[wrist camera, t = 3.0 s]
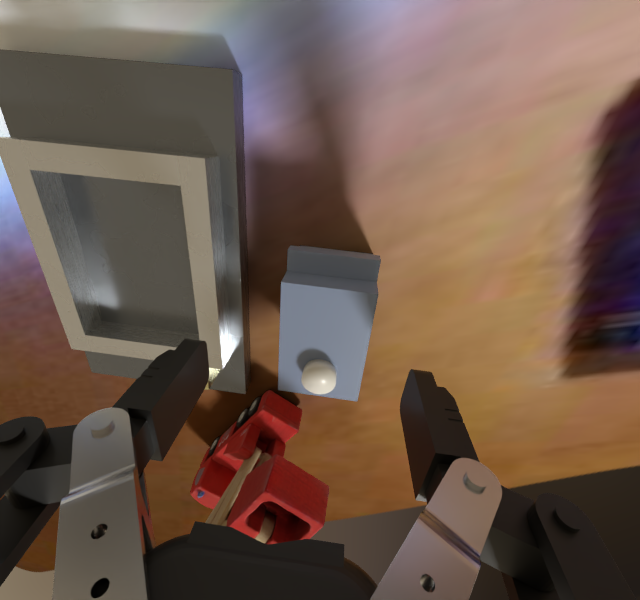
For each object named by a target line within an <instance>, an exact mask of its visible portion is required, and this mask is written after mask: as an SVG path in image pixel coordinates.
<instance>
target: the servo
mask: <svg viewBox="0 0 640 600" xmlns="http://www.w3.org/2000/svg"><path fill="white" fill-rule="evenodd" d="M380 262H381V259H380V256H377V255H373V254H370V253H362V252H353V251H344V250H336V249H327V248H319V247H310V246H301V245H300V246H292V245H290V247H289V248H288V255H287V272H286V274H285V276H284V278H283V279H282V281H281V303H280V338H279V373H278V390H281V391H288V392H295V393H302V394H309V395H316V396H323V397H330V398H337V399H344V400H351V401H357V400H358V395H359V390H360V385H361V380H362V375H363V370H364V365H365V360H366V355H367V349H368V344H369V339H370V334H371V329H372V324H373V319H374V314H375V309H376V304H377V298H378V288H377V278H378V272H379V267H380Z"/></svg>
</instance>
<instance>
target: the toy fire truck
mask: <svg viewBox="0 0 640 600" xmlns="http://www.w3.org/2000/svg"><path fill="white" fill-rule="evenodd" d="M301 416H302V410H301V409H300V408H298V407H297V406H295V405H294V404H292V403H290V402H289V401H287V400H285V399H284V398H282V397H281V396H279V395H277V394H276V393H274V392H273V391H271V390H268V391H266V392H265V393H264V394H263V396H262V398H260V397H257V398H256V399H255V400H254V401H253V403H252V404H251V406H250V409H245V410H244V411H243V412H242V413H241V415H240V416H239V418H238V420H237V421H236V422H235V423H234V424H233V425H232V426H231V427H230V428H229V429H228V430H226V432H225V433H224V434H223V435H222V436H221V437H217V438H216V439H215V441H214V442H213V443H212V445H211V447H210V448H209V449H208V450H207V452H206V454H205V456H204V458H203V461H202V463H201V465H200V469H199V470H198V472H197V474H196V476H195V479H194V481H193V484H192V488H191V491H190V494H191V495H192V497H193V498H194V499H195V500H196V501H198V502H199V503H201V504H202V505H204V506H206V507H208V508H211V509H214V510H213V511H212V513H211V514H210V516H209V518H208V519H207V521H206V522H205V523H208V524H215V525H221V526H228V527H232V528H234V529H236V530H238V531H240V532H242V533H244V534H246V535H248V536H250V537H252V538H254V539H256V540H258V541H260V542H262V543H264V544H275V543H282V542H289V541H295V540H302V539H310V538H311V537H312V536H313V535H314V534H315V533H316V532H318V531H319V530H320V529H321V528H322V527H323V525H324V522H325V516H326V507H327V501H328V495H329V486H328V485H326V484H325V483H323V482H322V481H320V480H318V479H317V478H315V477H313V476H312V475H310V474H308V473H307V472H305V471H303V470H302V469H301V468H299V467H298V466H296V465H294V464H293V463H291V462H289V461H287V460H286V459H285V458H283V457H284V451H285V442H287V441H288V440H289V439H290V438H291V437H292V436H294V435H295V434H296V433H298V431H299V425H300V421H301Z"/></svg>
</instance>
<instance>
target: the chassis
mask: <svg viewBox="0 0 640 600" xmlns="http://www.w3.org/2000/svg"><path fill="white" fill-rule="evenodd" d="M0 107H1V110H2V113H3V116H4V119H5V122H6V125H7V128H8V130H9V133H10V136H11V137H0V156H1V159H2V162H3V164H4V167H5V170H6V173H7V175H8V178H9V181H10V183H11V186H12V189H13V192H14V194H15V197H16V200H17V202H18V205H19V208H20V211H21V213H22V216H23V219H24V221H25V224H26V227H27V229H28V232H29V235H30V238H31V240H32V243H33V246H34V248H35V251H36V254H37V257H38V259H39V262H40V265H41V267H42V270H43V273H44V276H45V278H46V281H47V284H48V286H49V289H50V292H51V295H52V297H53V300H54V303H55V305H56V308H57V311H58V314H59V316H60V319H61V322H62V324H63V327H64V330H65V333H66V335H67V338H68V341H69V343H70V346H71V349H76V350H83V351H85V353H86V356H87V359H88V362H89V365H90V368H91V371H92V372H94V373H101V374H108V375H115V376H122V377H129V378H136V379H138V378H139V377H141V374H142V373H143V372H144V371H145V370H146V369H148V366H149V365H150V364H151V363H152V362H153V361H154V360H155V358H156V357H158V356H159V355H161V354H163V353H164V352H166V351H168V350H169V349H170V350H175V349H176V348H177V347H178V346H179V344H180V343H181V342H182V341H183V340H184V339H194V340H202V341H205V342H206V343H207V351H208V361H209V379H208V382H207V385H206V387H205V390H209V389H213V390H220V391H227V392H235V393H242V394H246V392H247V390H248V387H249V385H250V383H251V367H250V333H249V298H248V264H247V230H246V196H245V162H244V128H243V93H242V74H240V73H238V72H236V71H234V70H233V69H222V68H210V67H198V66H187V65H175V64H163V63H152V62H140V61H128V60H116V59H105V58H93V57H81V56H70V55H58V54H46V53H35V52H23V51H11V50H0Z"/></svg>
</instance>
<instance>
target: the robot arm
mask: <svg viewBox="0 0 640 600" xmlns="http://www.w3.org/2000/svg"><path fill="white" fill-rule="evenodd" d="M208 379H209V361H208V351H207V343H206V342H205V341H202V340H194V339H184V340H183V341H182V342H181V343H180V344H179V346H178V347H177V348H176V349H175V350H170V349H169V350H168V351H166V352H164V353H163V354H161V355H159V356H158V357H156V358H155V360H154V361H153V362H152V363H151V364H150V365H149V366H148V369H146V370H145V371H144V372H143V373H142V374H141V377H139V378H138V379H137V380H136V381H135V382H134V383H133V384H132V385H131V387H130V388H129V389H128V390H127V391H126V392H125V393H124V394H123V396H122V397H121V398H120V399H119V400H118V401H117V402H116V403H115V405H114V406H113V407H112V408H106V409H102V410H99V411H97V412H94V413H92V414H91V415H89V416H87V417H86V418H84V419H83V420H82V421H81V422H80V423H79V424H78V425H72V426H64V427H56V428H48V429H46V426H45V424H44V422H43V421H42V420H41V419H40V418H37V417H21V418H17V419H13V420H11V421H8V422H6V423H3V424H1V425H0V498H1V497H2V496H3V495H4V494H5V496H4V497H3V498H2V499H1V500H0V586H1V585H2V583H3V582H4V581H5V579H6V578H7V577H8V575H9V574H10V572H11V571H12V570H13V568H14V567H15V566H16V564H17V563H18V562H19V560H20V559H21V558H22V556H23V555H24V553H25V552H26V551H27V549H28V548H29V547H30V545H31V544H32V542H33V541H34V540H35V538H36V537H37V536H38V534H39V533H40V532H41V530H42V529H43V527H44V526H45V525H46V523H47V522H48V521H49V519H50V518H51V516H52V515H53V514H54V512H55V511H56V510H57V508H58V507H59V506H60V513H59V525H58V537H57V549H56V561H55V573H54V586H53V598H52V600H468V599H469V597H470V594H471V591H472V588H473V586H474V583H475V580H476V577H477V574H478V572H479V569H480V565H481V561H483V562H485V563H486V564H488V565H490V566H492V567H494V568H496V569H498V570H500V571H501V573H502V577H503V580H504V583H505V587H506V590H507V593H508V597H509V600H636V598H635V596H634V595H633V593H632V591H631V589H630V588H629V586H628V584H627V582H626V581H625V579H624V577H623V576H622V574H621V572H620V570H619V569H618V567H617V565H616V563H615V561H614V560H613V558H612V556H611V555H610V553H609V551H608V549H607V548H606V546H605V544H604V542H603V541H602V539H601V537H600V535H599V534H598V532H597V530H596V529H595V527H594V525H593V523H592V522H591V521H590V519H589V518H588V517H587V516H586V515H585V513H583V511H582V510H580V509H579V508H578V507H577V506H576V505H574V504H573V503H571V502H570V501H569V500H567V499H565V498H563V497H561V496H558V495H556V494H552V493H544V494H541V495H539V496H538V497H537V499H536V500H535V501H534V500H532V499H530V498H527V497H524V496H523V495H520V494H518V493H516V492H513V491H511V490H509V489H507V488H505V487H503V486H502V485H500V483H499V481H498V479H497V478H496V476H495V475H494V474H493V473H492V471H491V470H489V469H488V468H487V467H486V466H485V465H483V464H481V463H480V462H479V460H478V457H477V455H476V452H475V450H474V447H473V445H472V442H471V439H470V437H469V434H468V432H467V429H466V427H465V424H464V423H463V419H462V417H461V414H460V413H459V409H458V407H457V404H456V402H455V399H454V398H453V397H452V395H451V394H450V393H449V392H448V391H447V390H446V388H444V387H437V385H436V382H435V379H434V376H433V374H432V373H431V372H427V371H420V370H413V369H411V370H410V372H409V374H408V378H407V381H406V384H405V388H404V391H403V394H402V398H401V403H400V415H401V420H402V426H403V432H404V437H405V443H406V449H407V454H408V460H409V465H410V471H411V477H412V482H413V488H414V494H415V499H416V500H419V501H425V502H427V507H426V508H425V510H424V512H422V513H421V514H420V516H419V517H418V519H417V521H416V522H415V524H414V526H413V528H412V529H411V531H410V533H409V534H408V536H407V538H406V539H405V541H404V543H403V544H402V546H401V548H400V550H399V551H398V553H397V555H396V557H395V558H394V560H393V561H392V563H391V565H390V567H389V568H388V570H387V572H386V573H385V575H384V577H383V579H382V580H381V582H380V583H379V586H377V584H376V583H375V582H374V581H373V579H372V578H371V577H370V576H369V575H368V574H367V573H366V572H365V571H364V570H363V569H361V568H360V567H359V566H358V565H356V564H355V563H353V562H352V561H350V560H348V559H346V558H344V544H338V543H331V542H325V541H318V540H311V539H302V540H295V541H289V542H282V543H275V544H264V543H262V542H260V541H258V540H256V539H254V538H252V537H250V536H248V535H246V534H244V533H242V532H240V531H238V530H236V529H234V528H232V527H228V526H221V525H215V524H208V523H202V522H196V521H195V523H194V526H193V528H192V531H191V533H190V534H187V535H183V536H179V537H176V538H173V539H171V540H168V541H166V542H164V543H162V544H160V545H158V546H157V547H156V542H155V537H154V532H153V527H152V521H151V514H150V507H149V500H148V493H147V486H146V479H145V472H144V468H145V467H146V465H147V463H148V462H149V460H150V459H151V460H157V461H163V459H164V457H165V456H166V454H167V452H168V450H169V449H170V447H171V445H172V444H173V442H174V440H175V438H176V437H177V435H178V433H179V432H180V430H181V428H182V427H183V425H184V423H185V421H186V420H187V418H188V416H189V415H190V413H191V411H192V409H193V408H194V406H195V404H196V403H197V401H198V399H199V397H200V396H201V394H202V392H203V391H204V389H205V387H206V385H207V382H208Z"/></svg>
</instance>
